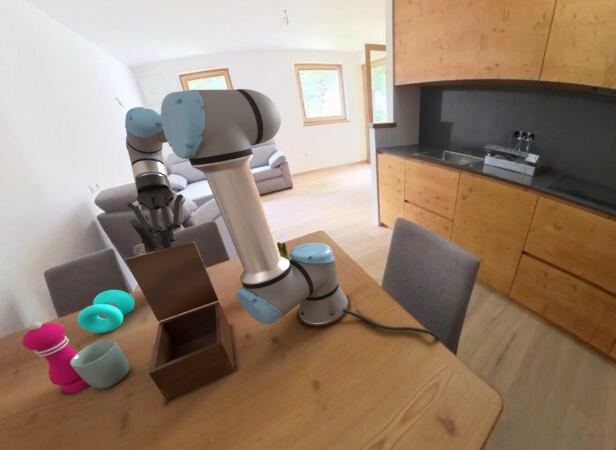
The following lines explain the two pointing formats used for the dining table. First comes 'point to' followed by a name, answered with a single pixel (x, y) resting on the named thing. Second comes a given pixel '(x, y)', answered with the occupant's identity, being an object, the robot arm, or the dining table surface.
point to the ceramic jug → (146, 238)
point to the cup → (101, 364)
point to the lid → (173, 280)
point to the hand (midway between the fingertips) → (169, 252)
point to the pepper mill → (54, 354)
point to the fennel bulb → (283, 250)
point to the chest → (191, 351)
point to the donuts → (106, 311)
